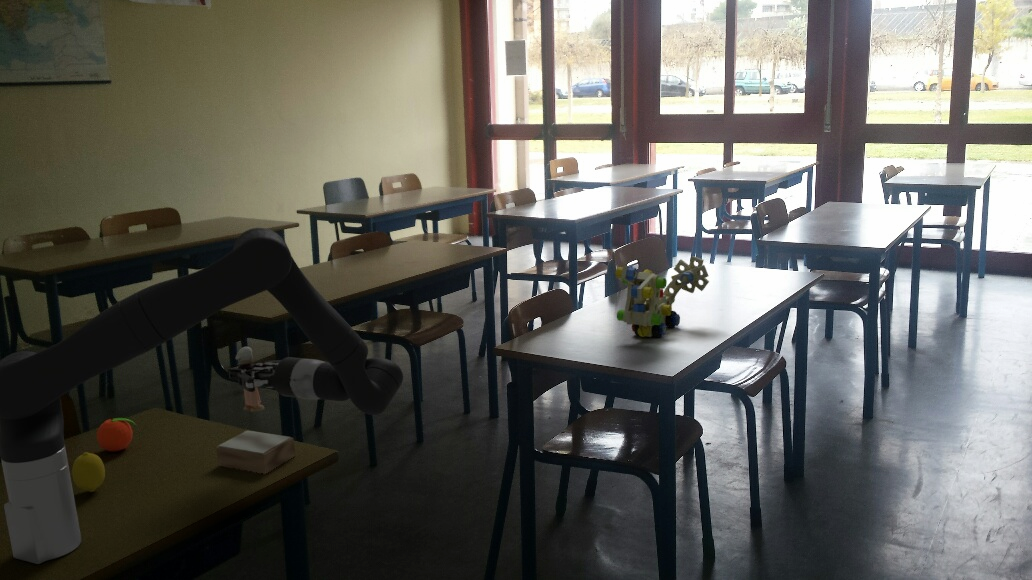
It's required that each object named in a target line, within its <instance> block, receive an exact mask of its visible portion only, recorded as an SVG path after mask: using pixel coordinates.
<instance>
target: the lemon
mask: <svg viewBox="0 0 1032 580" xmlns="http://www.w3.org/2000/svg"><path fill="white" fill-rule="evenodd" d="M71 474H72V479H73V482H74V485H76V486H77V487H78V488H79V489H80V490H83V491H88V492H90V493H94V492H95V490H96V489H98V488H99V487H100V486H101V485H102V484H103V482H104V480H105V478H106V468H105V465H104V461H103V460H102V459H101V457H100V456H98V455H97V454H94V453H93V452H92V453H90V452H88V451H86V452H83V453H82V454H81V455H79V456H77V458H76V459H75V460H74V462H73V465H72V472H71Z"/></svg>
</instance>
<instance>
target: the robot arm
mask: <svg viewBox="0 0 1032 580" xmlns="http://www.w3.org/2000/svg"><path fill="white" fill-rule="evenodd" d="M265 291H267V292H268V293H269V294H270V295H272V296H273V297H274V298H275V299H276V300H277V302H279V303H280V305H281V306H282V307H283V308H284V309H285V310H286V311H287V313H288V314H289V316H290V317H292V319H293V321H295V323H296V324H297V326H298V328H300V330H301V331H302V333H303V334H304V335H305V337H306V338H307V340H308V341H310V344H312V345H313V346H314V347H315V349H316V350H317V351H318V352H319V354H321V356H322V357H323V359H325V360H326V361H325V360H324V361H323V360H320V359H315V358H301V357H292V356H290V357H289V356H288V357H287V356H286V357H284V358H283V359H276V360H275V359H274V360H266V361H264V362H257V363H250V364H251V365H252V366H254V367H255V368H253V369H238V367H239V366H240V365H242V363H240V364H239V366H238V367H237V368H236V367H230V368H228V369H227V373H228V379H229V380H232V381H237V380H238V381H237V382H238V387H240V388H242V390H244V389H245V390H247V391H249V392H253V391H255V387H256V386H259V387H263V388H266V389H275V390H276V392H277V393H278V395H281V396H283V397H289V398H296V399H297V398H298V399H306V400H325V401H326V400H327V401H333V402H335V401H336V402H345V401H348V400H349V401H351V403H352V404H353V405H354V406H355V407H356V408H357V410H358V411H360V412H362V413H364V414H367V415H370V416H376V415H377V416H378V415H381V414H383V413H384V412H385V411H386V410H387V408H389V407H388V406H389V405H390V404H391V403H392V400H393V399H394V397H395V395H396V394H397V392H398V391H399V389H400V387H401V385H402V383H403V380H404V372H403V371H402V368H401V367H400V365H398V364H397V363H396V362H394V361H392V360H390V359H388V358H385V357H384V358H383V357H371V358H368V354H369V347H368V345H367V344H366V342H365V341H364V339H362V338H361V337H360V335H359V334H358V333H357V331H356V330H355V329H354V328H353V327H352V326H351V325H350V324H349V323H348V322H347V321H346V320H345V318H344V317H343V316H342V315H341V314H340V313H339V312H338V311H337V310H336V309H335V308H334V307H333V306H332V305H331V304H330V303H329V302H328V301H327V300H326V299H325V298H324V296H323V295H322V294H321V293H320V292H319V291H318V290H317V288H315V287H314V286H313V284H312V283H311V282H310V280H309V279H308V278H307V276H305V274H304V273H303V272H302V270H301V268H300V267H299V265H298V264H297V263H296V261H295V260H294V257H293V256H292V254H291V251H290V249H289V246H288V244H287V243H286V241H285V240H284V239H283V237H282V236H281V235H280V234H278V233H277V232H275V231H274V230H271V229H269V228H264V227H255V228H254V227H253V228H250V229H247V230H245V231H244V232H242V233H241V234H240V235H239V236H238V237H237V239H236V240H235V242H234V244H233V249H232V251H229V253H227V254H225V255H224V256H222V257H221V258H219V259H217V260H216V261H214V262H213V263H211V264H209V265H208V266H206V267H204V268H202V269H199V270H197V271H195V272H191V273H189V274H186V275H182V276H178V277H174V278H171V279H170V278H169V279H168V280H167V279H166V280H164V281H162V282H161V281H160V282H158V283H155V284H152V285H150V286H147V287H145V288H143V289H141V290H138V291H137V292H135V293H133V294H131V295H129V296H126V297H125V298H123V299H121V300H119V301H118V302H115V303H114V304H112V305H111V306H109V307H107V308H106V309H105V310H103V311H101V312H100V313H98V314H97V315H95V316H94V317H93V318H91V319H90V320H88V321H87V322H86V323H84V324H83V325H82V326H81V327H80V328H77V330H75V331H74V332H72V333H71V334H70V335H69V336H67V337H66V338H64V339H63V340H61V341H59V342H58V343H56V344H54V345H51V346H49V347H47V348H45V349H43V350H41V351H38V352H34V351H28V350H21V351H16V352H12V353H11V354H8V355H7V356H5V357H4V358H2V359H1V360H0V460H1V467H2V472H3V477H4V481H5V487H6V493H7V498H8V502H6V503H5V504H4V505H3V509H4V513H5V514H4V515H5V520H6V524H7V529H8V535H9V539H10V545H11V551H12V555H13V558H14V559H16V560H17V559H18V560H21V561H24V562H25V561H26V562H29V563H32V564H36V565H40V564H42V563H44V562H46V561H50V560H55V559H57V558H60V557H62V556H65V555H68V554H69V553H71V552H73V551H75V550H76V549H77V548H78V547H79V546H80V544H81V542H82V535H81V531H80V524H79V517H78V513H77V508H76V507H77V506H76V501H75V500H76V499H75V496H74V489H73V484H72V478H71V473H70V467H69V460H68V454H67V450H66V443H65V438H64V437H65V435H64V434H65V433H64V430H65V429H64V425H65V424H64V412H63V407H62V406H63V405H62V400H61V397H62V396H64V395H65V394H67V393H69V392H70V391H72V390H73V389H75V388H77V387H78V386H80V385H81V384H83V383H85V382H86V381H89V380H90V379H92V378H94V377H97V376H99V375H101V374H104V373H106V372H107V371H110V370H113V369H114V368H117V367H119V366H121V365H122V364H125V363H127V362H130V361H131V360H133V359H136V358H137V357H139V356H141V355H144V354H145V353H147V352H149V351H152V350H153V349H155V348H158V347H159V346H162V345H163V344H165V343H166V342H169V341H171V340H172V339H174V338H175V337H177V336H179V335H180V334H182V333H184V332H186V331H187V330H189V329H191V328H193V327H195V326H196V325H198V324H200V323H201V322H203V321H204V320H206V319H208V318H210V317H211V316H213V315H214V314H216V313H217V312H220V311H221V310H223V309H225V308H227V307H229V306H231V305H234V304H236V303H239V302H240V301H243V300H246V299H248V298H250V297H251V298H252V297H254V296H256V295H258V294H260V293H262V292H265ZM248 374H251V376H249V375H248Z"/></svg>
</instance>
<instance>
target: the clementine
mask: <svg viewBox="0 0 1032 580" xmlns="http://www.w3.org/2000/svg"><path fill="white" fill-rule="evenodd" d="M129 422H131V423H133V424H134V425H135V426H137V424H136V423H135V422H134V421H133V420H131V419H129V418H128V419H127V418H125V417H124V418H123V417H115V418H114V417H113V418H109V419H106V420H104V422H102V423H101V424H100V426H99V427H98V429H97V431H96V440H97V443H98V445H99V446H100V447H101V448H102V449H104V450H105V451H108V452H119V451H121V450H124V449H125V448H127V447H128V446H129V445H130V444H131V442H132V439H133V433H134V432H133V428H132V426H131V425H130V423H129Z"/></svg>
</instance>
